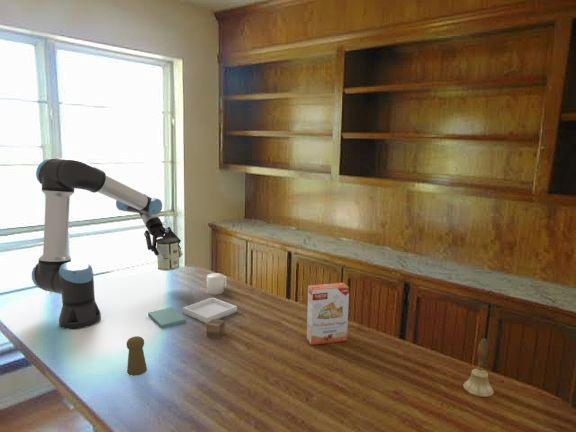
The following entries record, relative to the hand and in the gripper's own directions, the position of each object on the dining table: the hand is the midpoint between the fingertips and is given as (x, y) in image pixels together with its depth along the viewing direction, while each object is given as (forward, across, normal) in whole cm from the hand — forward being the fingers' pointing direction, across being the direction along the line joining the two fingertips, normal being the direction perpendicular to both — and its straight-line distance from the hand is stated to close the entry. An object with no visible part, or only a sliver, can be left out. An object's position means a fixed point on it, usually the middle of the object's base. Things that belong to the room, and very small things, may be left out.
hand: (171, 257), depth 206 cm
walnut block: (+49, -18, -26) cm, 58 cm away
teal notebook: (+31, -22, -7) cm, 39 cm away
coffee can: (+2, 0, +6) cm, 6 cm away
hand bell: (+110, +10, -87) cm, 140 cm away
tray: (+36, -6, -13) cm, 39 cm away
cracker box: (+73, +6, -50) cm, 89 cm away
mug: (+23, +12, -1) cm, 26 cm away
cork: (+50, -50, -26) cm, 76 cm away
